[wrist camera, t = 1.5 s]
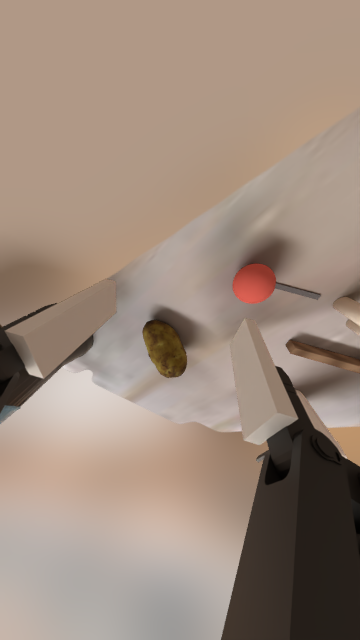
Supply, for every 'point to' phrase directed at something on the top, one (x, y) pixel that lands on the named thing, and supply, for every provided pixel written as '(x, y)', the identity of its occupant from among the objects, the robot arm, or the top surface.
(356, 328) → the pin
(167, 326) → the potato
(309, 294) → the thin gray bar
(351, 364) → the rail
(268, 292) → the ball
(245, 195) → the top surface
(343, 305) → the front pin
